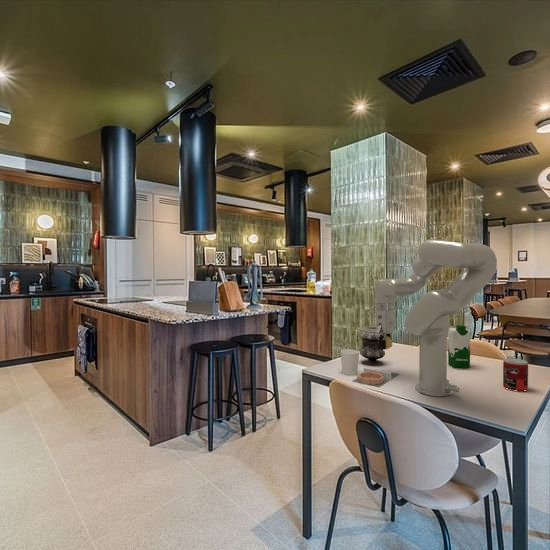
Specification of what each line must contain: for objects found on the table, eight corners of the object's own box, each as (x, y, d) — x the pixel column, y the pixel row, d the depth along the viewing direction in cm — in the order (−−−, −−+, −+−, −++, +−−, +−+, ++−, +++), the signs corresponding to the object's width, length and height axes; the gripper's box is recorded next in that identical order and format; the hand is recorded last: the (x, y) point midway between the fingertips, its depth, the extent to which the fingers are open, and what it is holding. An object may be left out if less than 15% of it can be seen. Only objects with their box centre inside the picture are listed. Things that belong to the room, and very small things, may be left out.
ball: (394, 348, 154) (394, 335, 155) (389, 351, 150) (388, 337, 150) (381, 347, 158) (381, 334, 158) (376, 349, 154) (375, 336, 154)
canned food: (498, 385, 139) (499, 358, 139) (519, 385, 139) (519, 358, 139) (511, 392, 132) (511, 363, 132) (532, 392, 132) (533, 363, 131)
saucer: (387, 380, 145) (387, 375, 145) (376, 386, 137) (376, 381, 137) (364, 375, 151) (364, 370, 151) (353, 381, 144) (353, 376, 144)
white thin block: (391, 379, 146) (391, 372, 146) (390, 380, 145) (390, 373, 145) (364, 374, 153) (364, 367, 153) (363, 374, 153) (363, 368, 153)
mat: (399, 374, 153) (399, 374, 153) (379, 388, 137) (379, 387, 137) (374, 369, 161) (374, 369, 161) (351, 382, 144) (351, 381, 144)
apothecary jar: (390, 364, 170) (390, 327, 169) (374, 368, 163) (374, 330, 162) (370, 359, 180) (370, 324, 179) (354, 363, 173) (354, 327, 172)
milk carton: (453, 369, 161) (453, 326, 161) (445, 364, 170) (445, 323, 170) (472, 369, 161) (473, 326, 160) (464, 364, 170) (464, 323, 169)
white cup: (359, 376, 151) (359, 353, 151) (340, 375, 153) (340, 353, 153) (358, 371, 159) (358, 349, 159) (340, 370, 161) (340, 349, 160)
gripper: (384, 309, 145) (385, 352, 145) (399, 305, 158) (400, 345, 158) (367, 308, 150) (368, 350, 150) (384, 305, 163) (384, 343, 163)
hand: (385, 347), depth 154 cm, fingers closed on ball, 5 cm apart
